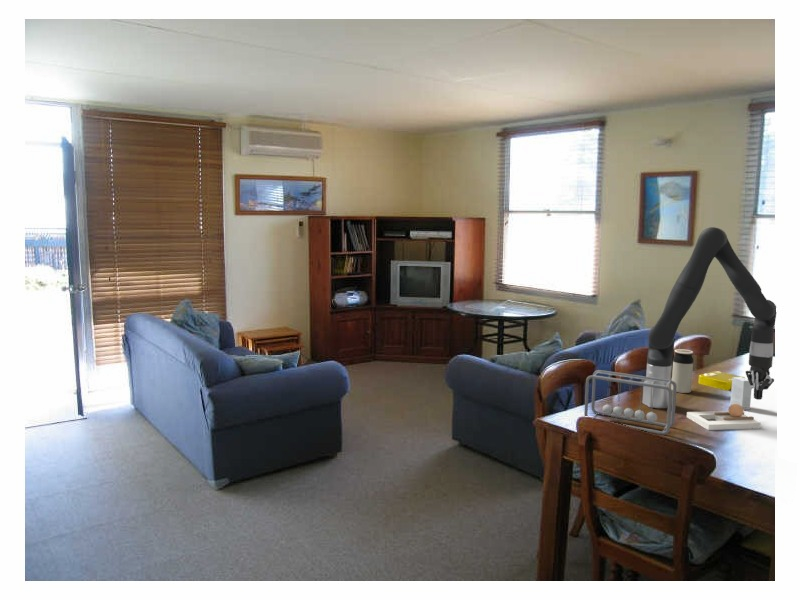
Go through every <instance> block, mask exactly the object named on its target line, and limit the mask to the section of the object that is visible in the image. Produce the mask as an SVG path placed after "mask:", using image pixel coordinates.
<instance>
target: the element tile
mask: <svg viewBox="0 0 800 600" xmlns="http://www.w3.org/2000/svg"><path fill="white" fill-rule="evenodd" d="M733 377H743V378H746V377H745V376H740V375H736V374H734V373H733V374H732V373H728V372H723V371H718V370H714V371H710V372H705V373H702V374H699V375H698V380H697V381H698V384H699V385H702V386H706V387H710V388H714V389H719V390H723V391H726V392H728V391H729V392H731V390H732V378H733Z"/></svg>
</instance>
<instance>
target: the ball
mask: <svg viewBox="0 0 800 600" xmlns="http://www.w3.org/2000/svg"><path fill="white" fill-rule="evenodd" d="M727 411H729V414H730V415H731V416H733V417H740V416H742V415H743V412H744V411H745V410H743V408H742V406H740V405H739V404H732V405H730V404H729V406H728V410H727ZM744 413H745V412H744Z"/></svg>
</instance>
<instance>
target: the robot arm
mask: <svg viewBox="0 0 800 600" xmlns="http://www.w3.org/2000/svg"><path fill="white" fill-rule="evenodd" d="M714 258H715V259H716V260H717V261H718V263H719V264H720V265H721V266H722V268H723V270H724V272H725V273H726V275H727V277H728V279H729V281H730V282H731V284H732V285H733V287H734V288H735V290H737V293H738V294H739V295H740V296H741V298H742V299H743V301H744V303H745V306H746V307H747V308H748V310H749V312H750V313H751V315H752V316H753V318H754V322H753V323H754V325H753V326H752V328H751V337H750V338H751V339H750V345H749V351H748V352H749V353H748V354H749V355H748V366H750V368H749V370H746V371H745V375H746V377H747V378H746V379H748V381H749V383H750V385H751V386H752V388H753V399H755V400H758V401H759V400H762V399H763V393H764V390H769V388H770V387H771V385H772V384H773V383H774V382H775V379H774V378H771V373H770V369H771V368H772V367H773V359H774V334H775V333H774V328H775V323H776V319H777V312H776V308H777V305H776V303H775V302H773V301H772V300H770V299H767V298H766V297H765V295H764V293H763V292H762V288H761V286H760V284H759V282H757V281H756V279H755V278H754V276H753V275H752V273H750V270H748V269H747V268H746V266H745V264H744V263H743V262H742V261H741V260H740V258H739V257H738V256H737V254H736V252H735V250H734V249H733V247H732V245H731V243H730V241H729V239H728V236H727V234H726V232H725V231H724V230H723V229H721V228H720V227H719V228H718V227H715V226H714V227H713V226H712V227H711V226H710V227H707V228H705V229H703V230H702V231H701V232H700V234H699V235H698V238H697V240H696V243H695V246H694V248H693V251H692V253H691V255H690V258H689V259H688V261H687V262H686V264H685V266H684V267H683V269H682V270H681V272H680V274H679V276H678V277H677V279H676V281H675V282H674V284H673V287H672V288H671V290H670V292H669V295H668V298H667V300H666V303H665V306H664V309H663V312H661V315H660V316H659V319H658V320H657V321H656V322H655V325H654V326H652V327H651V329H650V330H649V332H648V337H647V338H648V339H647V340H648V349H647V357H646V360H647V361H646V375H645V376H646V377H653V378H660V379H667V380H672V370H673V357H674V356H673V355H674V342H675V341H674V339H675V335H676V333H677V330H678V328H679V325H680V323H681V322H682V320H683V318H684V317H685V316H686V315H687V313H688V312H689V310H690V309H691V307H692V305H693V304H694V302H695V301H696V299H697V297H698V295H699V293H700V292H701V289H702V287H703V285H704V282H705V280H706V277H707V273H708V270H709V267H710V265H711V263H712V262H713V260H714ZM643 383H650V384H657V385H664V386H666V385H667V384H668V383H664V382H657V381H650V380H643ZM671 385H672V384H671V383H669V384H668V386H667V387H669V388H670V389H671ZM668 396H669V392H668V390H666V389H660V388H654V395H653V387H652V403H653V408H655V409H668ZM641 404H643V405H645V406H647V407H648V408H651V387H647V386H643V388H642V401H641Z"/></svg>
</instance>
